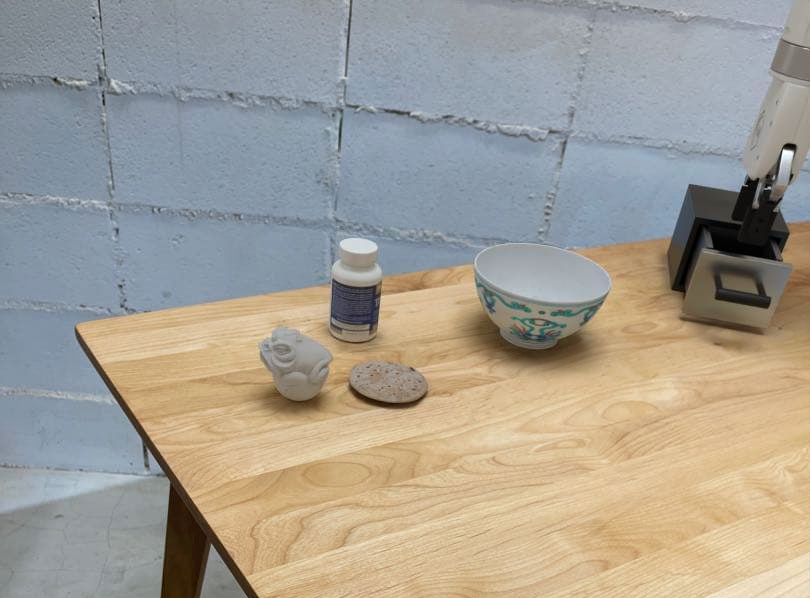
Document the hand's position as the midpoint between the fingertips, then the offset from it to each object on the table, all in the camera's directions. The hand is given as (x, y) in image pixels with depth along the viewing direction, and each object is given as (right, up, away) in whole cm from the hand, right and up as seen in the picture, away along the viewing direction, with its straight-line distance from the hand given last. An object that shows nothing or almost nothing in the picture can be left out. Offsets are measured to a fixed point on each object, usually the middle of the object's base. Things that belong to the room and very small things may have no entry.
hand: (747, 230), depth 100 cm
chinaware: (-27, -14, -4) cm, 30 cm away
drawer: (-1, -8, +5) cm, 9 cm away
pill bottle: (-47, -14, -8) cm, 49 cm away
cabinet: (+1, -1, +14) cm, 14 cm away
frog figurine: (-52, -23, -19) cm, 60 cm away
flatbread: (-43, -22, -16) cm, 51 cm away
